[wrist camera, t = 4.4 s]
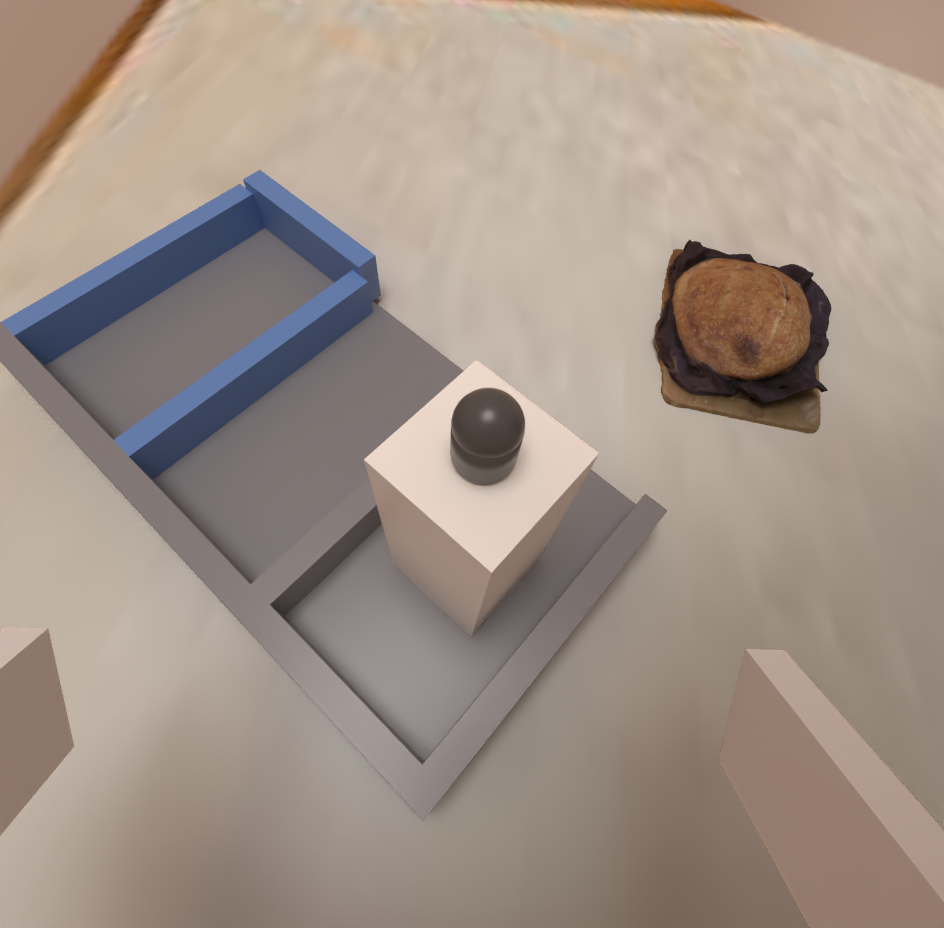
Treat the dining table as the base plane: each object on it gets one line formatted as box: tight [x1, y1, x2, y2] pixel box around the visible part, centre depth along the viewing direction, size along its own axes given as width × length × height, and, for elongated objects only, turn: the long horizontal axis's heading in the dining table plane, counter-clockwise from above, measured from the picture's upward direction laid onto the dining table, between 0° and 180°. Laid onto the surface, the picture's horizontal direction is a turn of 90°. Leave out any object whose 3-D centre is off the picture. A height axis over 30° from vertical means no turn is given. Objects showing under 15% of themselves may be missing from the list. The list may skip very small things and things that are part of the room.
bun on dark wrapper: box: [655, 240, 831, 433], centre depth 26 cm, size 11×8×4 cm
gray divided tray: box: [0, 170, 667, 820], centre depth 22 cm, size 14×25×3 cm, turn 48°
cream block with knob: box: [364, 360, 599, 637], centre depth 16 cm, size 4×4×11 cm
